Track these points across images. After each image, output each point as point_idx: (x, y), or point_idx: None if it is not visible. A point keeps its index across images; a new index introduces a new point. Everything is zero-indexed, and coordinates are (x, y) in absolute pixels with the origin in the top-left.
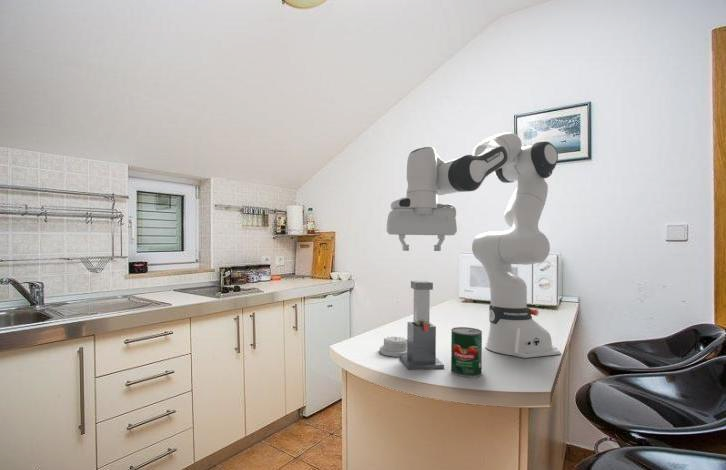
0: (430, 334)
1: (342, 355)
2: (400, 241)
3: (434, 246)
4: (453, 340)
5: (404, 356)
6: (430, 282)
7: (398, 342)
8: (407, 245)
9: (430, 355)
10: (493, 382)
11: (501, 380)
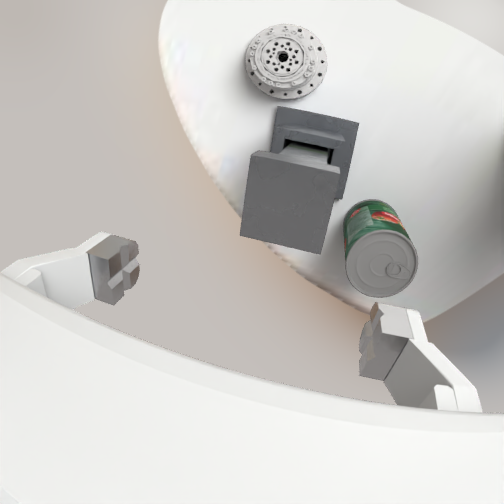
0: None
1: (163, 66)
2: (44, 256)
3: (374, 334)
4: (345, 252)
5: (283, 121)
6: (310, 249)
7: (277, 86)
8: (107, 298)
9: None
10: None
11: None
